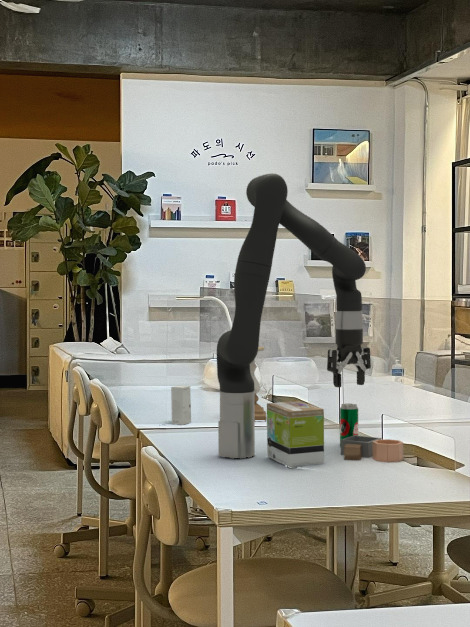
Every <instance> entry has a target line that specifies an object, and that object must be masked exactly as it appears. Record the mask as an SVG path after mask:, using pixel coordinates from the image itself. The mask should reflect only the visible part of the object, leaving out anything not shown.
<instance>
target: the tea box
mask: <svg viewBox="0 0 470 627" xmlns="http://www.w3.org/2000/svg"><path fill="white" fill-rule="evenodd" d="M324 413H325V409H324V408H322V407H319V406H315V405H312V404H310V403H306V402H303V401H301V400H298V401H297V400H296V401H279V402H272V403H271V402H267V403H266V438H267V440H266V441H267V443H266V445H267V448H266V449H267V450H266V451H267V458H269V459H272V460H274V461H275V462H277V463H279V464H281V463H282V464H281V465H287V466H289V467H296V466H309V465H319V464H320V465H321V464H325V414H324Z"/></svg>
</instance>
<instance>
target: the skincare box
mask: <svg viewBox="0 0 470 627" xmlns="http://www.w3.org/2000/svg"><path fill="white" fill-rule="evenodd" d="M170 389H171V392H170V393H171V396H170V397H171V398H170V399H171V424H172V423H173V424H172V425H175V424H178V425H177V426H179V425H180V426H183V425H186V424H190V423H189V422H191V423H192V411H191V410H192V407H191V406H192V403H191V402H192V401H191V398H192V397H191V385H189V384H188V385H186V384H185V385H183V384H182V385H180V384H179V385H174V386H171V387H170Z"/></svg>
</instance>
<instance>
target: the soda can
mask: <svg viewBox="0 0 470 627" xmlns="http://www.w3.org/2000/svg"><path fill="white" fill-rule="evenodd" d="M340 405H341V406H340V408H339V446H340V447H341V440H342V439H345V438H348V437H351V436H354V435H356V436H359V407H358V404H356V403H341V404H340Z"/></svg>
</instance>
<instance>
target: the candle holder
mask: <svg viewBox="0 0 470 627" xmlns="http://www.w3.org/2000/svg"><path fill="white" fill-rule="evenodd" d="M263 351H265V347H264V346H259V347H258V352H263ZM255 359H256V358H255ZM255 359H254V361H253V362H252V363H251V364H250V372H251V376H252V378H253V380H254V389H255V390H254V394H255V402H254V405H255V420H266V421H267V411H266V410H265V409H264V407H263V406H261V405H260V404H259V403H257V402H258V401H259V399H260V398H259V396H258V395H257V394H258V393H259V392H260V390H261V384H260V382H259V381H258V379H257V377H256V375H255V372H256V369H257V367H258V365H257V364H256V362H255Z"/></svg>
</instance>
